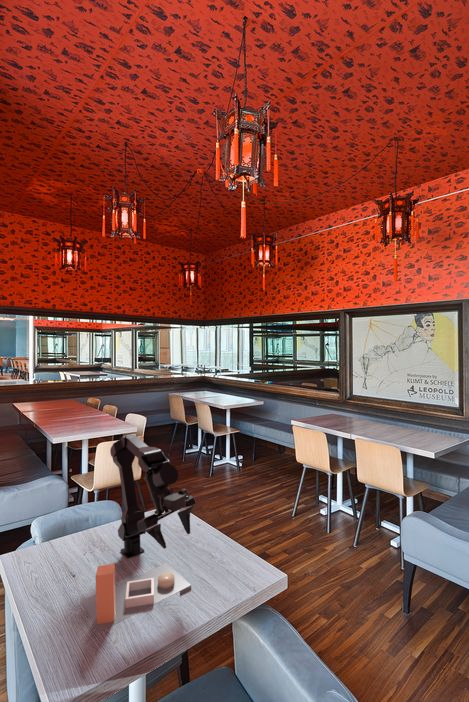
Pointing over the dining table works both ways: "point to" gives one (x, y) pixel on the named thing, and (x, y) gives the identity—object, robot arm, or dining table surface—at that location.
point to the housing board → (140, 594)
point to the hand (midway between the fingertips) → (177, 540)
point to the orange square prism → (105, 593)
